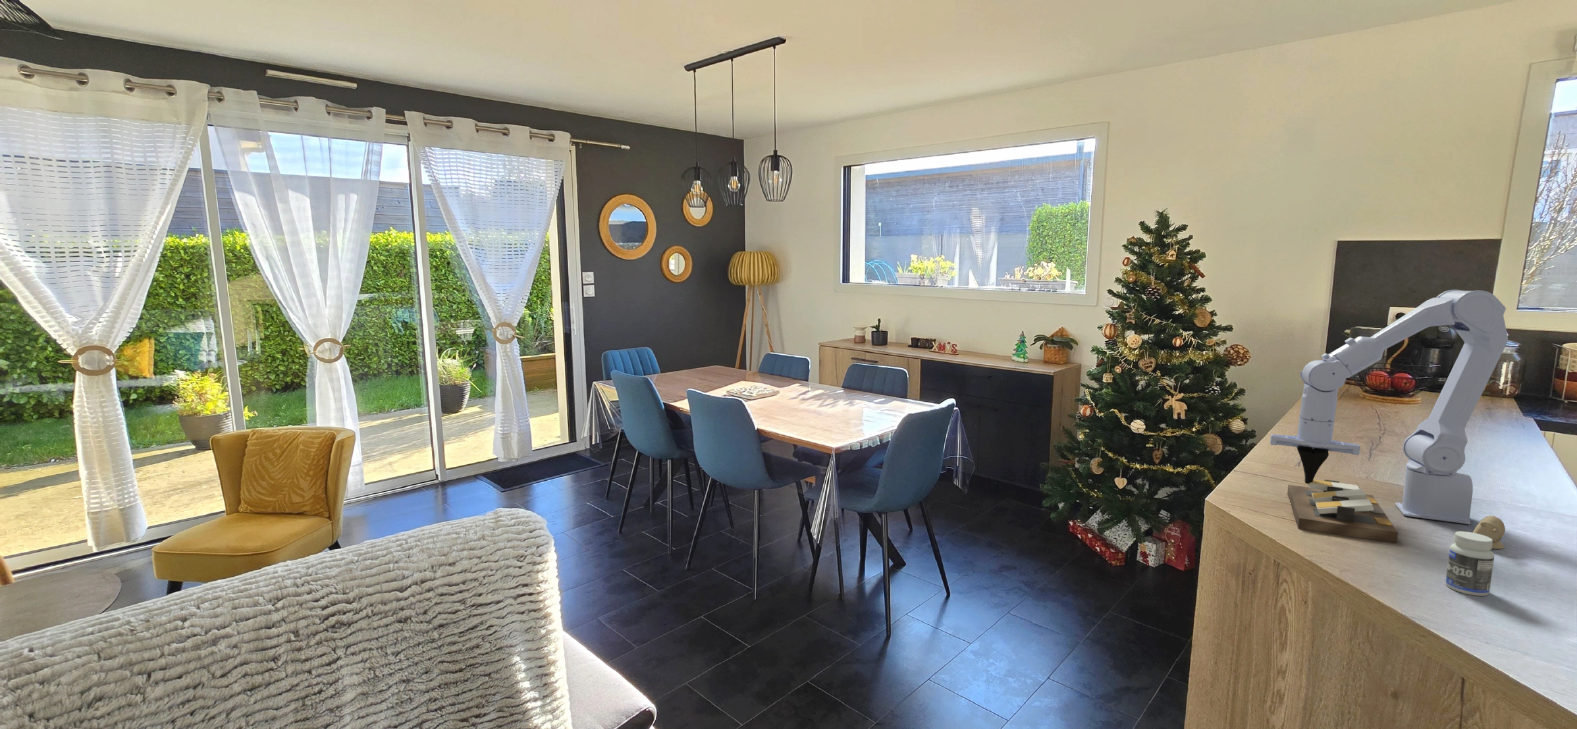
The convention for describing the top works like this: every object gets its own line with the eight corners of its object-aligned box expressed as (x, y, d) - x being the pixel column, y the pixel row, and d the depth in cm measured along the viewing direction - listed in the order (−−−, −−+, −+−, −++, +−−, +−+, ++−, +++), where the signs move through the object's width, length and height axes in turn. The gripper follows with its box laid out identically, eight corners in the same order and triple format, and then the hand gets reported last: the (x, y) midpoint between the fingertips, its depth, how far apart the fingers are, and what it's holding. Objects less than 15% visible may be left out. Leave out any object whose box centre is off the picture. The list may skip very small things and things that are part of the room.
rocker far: (1356, 489, 138) (1357, 484, 138) (1359, 495, 135) (1360, 489, 134) (1307, 483, 142) (1308, 478, 142) (1309, 488, 139) (1310, 483, 139)
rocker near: (1369, 504, 126) (1368, 498, 126) (1373, 510, 123) (1372, 504, 123) (1316, 507, 130) (1315, 502, 130) (1319, 513, 127) (1317, 508, 127)
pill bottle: (1436, 583, 104) (1442, 530, 103) (1464, 581, 104) (1470, 529, 103) (1469, 597, 99) (1476, 542, 98) (1499, 596, 99) (1505, 541, 98)
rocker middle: (1363, 493, 132) (1361, 488, 132) (1366, 499, 129) (1365, 493, 129) (1312, 497, 136) (1311, 492, 136) (1314, 503, 133) (1313, 497, 133)
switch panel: (1371, 504, 139) (1373, 482, 139) (1396, 542, 119) (1399, 517, 119) (1287, 493, 147) (1289, 473, 146) (1298, 528, 127) (1300, 504, 126)
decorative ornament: (1506, 543, 119) (1509, 514, 118) (1498, 555, 114) (1501, 524, 113) (1473, 536, 122) (1477, 508, 121) (1464, 548, 117) (1468, 518, 116)
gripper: (1274, 417, 139) (1267, 481, 141) (1366, 427, 131) (1356, 494, 133) (1272, 412, 145) (1265, 473, 147) (1359, 421, 137) (1350, 485, 139)
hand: (1308, 482), depth 140 cm, fingers closed, pressing on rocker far
